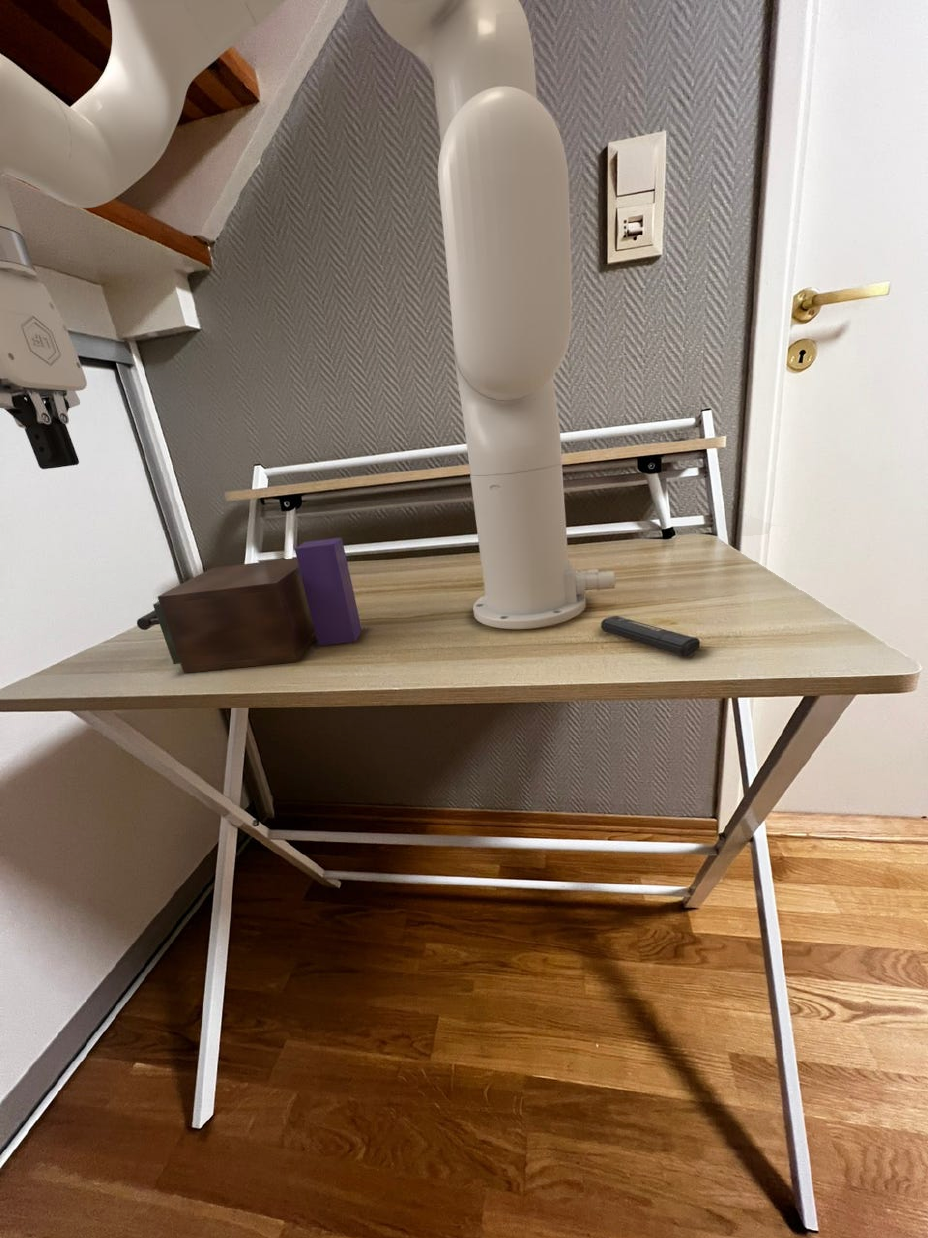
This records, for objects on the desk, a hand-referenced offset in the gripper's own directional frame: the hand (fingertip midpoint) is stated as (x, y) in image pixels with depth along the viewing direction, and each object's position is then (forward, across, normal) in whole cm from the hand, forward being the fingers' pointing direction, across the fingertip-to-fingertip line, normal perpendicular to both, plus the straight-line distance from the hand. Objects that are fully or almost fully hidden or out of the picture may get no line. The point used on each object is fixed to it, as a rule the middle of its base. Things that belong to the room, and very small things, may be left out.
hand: (60, 466), depth 55 cm
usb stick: (+22, -9, -56) cm, 61 cm away
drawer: (+21, 0, -12) cm, 24 cm away
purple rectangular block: (+22, 0, -25) cm, 33 cm away
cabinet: (+22, 0, -16) cm, 27 cm away
